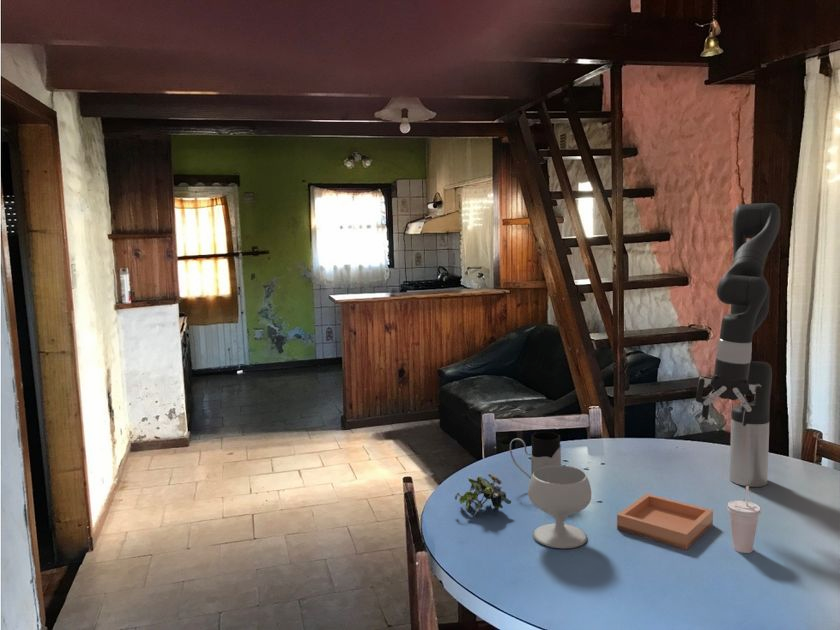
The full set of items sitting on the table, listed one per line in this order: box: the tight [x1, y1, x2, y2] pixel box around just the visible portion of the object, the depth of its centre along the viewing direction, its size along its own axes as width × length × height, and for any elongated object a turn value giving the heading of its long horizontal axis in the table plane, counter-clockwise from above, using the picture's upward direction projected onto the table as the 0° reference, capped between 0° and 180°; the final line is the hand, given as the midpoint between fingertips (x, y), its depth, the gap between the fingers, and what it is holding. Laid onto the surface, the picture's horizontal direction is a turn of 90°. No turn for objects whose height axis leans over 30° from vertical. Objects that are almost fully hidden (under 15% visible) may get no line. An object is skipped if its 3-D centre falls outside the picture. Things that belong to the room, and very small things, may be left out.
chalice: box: [527, 464, 592, 549], centre depth 147 cm, size 14×14×15 cm
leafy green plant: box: [454, 474, 512, 518], centre depth 162 cm, size 11×11×12 cm
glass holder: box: [509, 431, 562, 480], centre depth 176 cm, size 9×14×15 cm, turn 71°
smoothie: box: [726, 486, 762, 554], centre depth 139 cm, size 6×6×14 cm
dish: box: [616, 493, 714, 551], centre depth 151 cm, size 16×16×4 cm
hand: (724, 421), depth 159 cm, fingers open, 8 cm apart
